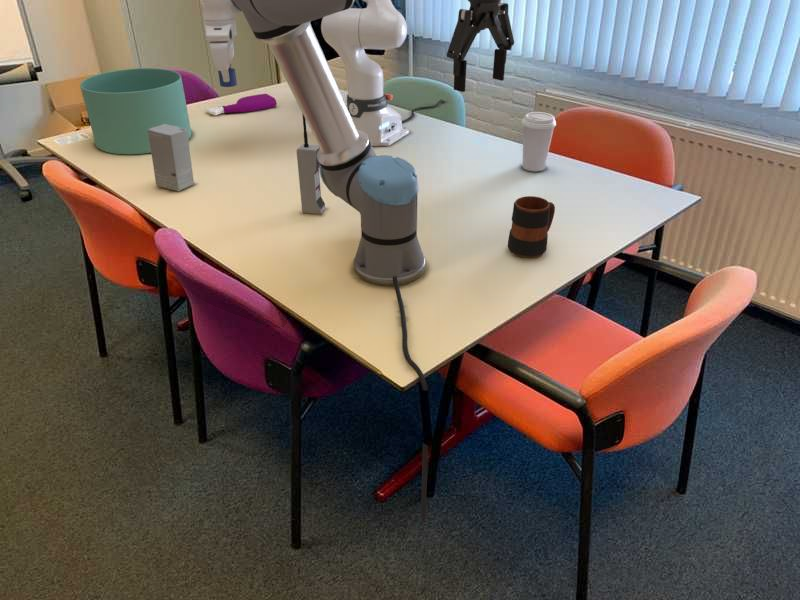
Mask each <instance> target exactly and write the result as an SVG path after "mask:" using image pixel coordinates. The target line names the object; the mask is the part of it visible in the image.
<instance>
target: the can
mask: <svg viewBox="0 0 800 600" xmlns="http://www.w3.org/2000/svg"><path fill="white" fill-rule="evenodd" d="M228 71H229V76H230V81H229V82H224V81H223V76H222V73H221V70H217V73H218V80H219V85H220V87H223V88H233V87H236V86H238V81H237V74H236V69H235V68H233V67H231V68H228Z"/></svg>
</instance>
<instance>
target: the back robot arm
mask: <svg viewBox="0 0 800 600" xmlns="http://www.w3.org/2000/svg"><path fill="white" fill-rule="evenodd" d="M199 1H200V5H201V7H202V11H203V12H202V20H203V26H204V27H203V28H204V33H205V41H206V42H208V44H209V49H210V55H211V58H212V63H213V67H214V69H215V70H216V71H218V70H221V73H222V76H223V81H224V82H229V81H230V76H229V71H228V68H232V61H233V59H234V57H235V47H234V46H235V45H234V41H235V39H234V37H236V36H238V30H237V23H236V14H237V13H241V14H243V12H242V11H240V10H238V9H237V8H236V7H235V6H234V5H233V3H232V2H231V1H230V0H199ZM362 1H363V2H364V3H366V4H367V6H366V7H365V8H357V7H356V8H354V7H351V8H349V9H347V10H343V11H340V12H337V13H334V14H331V15H328V16H325V17H322V18H321V24H320V30H321V31H320V32H321V35H322V37H323V39H324V41H325V43H327V44H328V45H329V46H330V47H331V48H332V49H334V51H335V52H336V53H337V54H338V56H339V58H340V59H341V61H342V64H343V67H344V70H345V73H346V75H345V76H346V83H347V95H346V106H347V108H348V111H349V113H350V115H351V118H352V120H353V122H354V124H355V127H356V129H357V130H358V131H362V132H364V133H366V134H367V136H368V138H369V141H370V143H371V145H372V147H377V146H379V147H380V146H381V147H382V146H383V147H388V146H391V145H392V144H394V143H396V142H398V141H400V139H403V138H404V137H405V136H407V135H408V134H410V129H409V128H407V127H405V126H404V125H403V123H406V122H409V121H410V120H411V119H412V118H414V116H415V113H414V112H415V111H418V110H425V109H432V108H433V109H434V108H436V107H438V105H440V104H441V103H443V104H445V103H446V102H445V100H444V99H440V100H438V101H437V103H435V104H433V105H429V106H428V105H427V106H419V107H415V108H413V109H411V115H410V116H409V117H408V118H405V119H404V120H403V119H402V116H401V114H400V113H399V112H398V111H396V110H395V109H393V108H392V107H391V106H390V105H388V101H392V100H393V97H394V95H393V94H391V93H384V72H383V71H384V70H383V68H382V67H381V65H380V64H379V63H378V62H376V61H374V60H373V59H372V58H370V57H369V56H368V55H367V53H366V51H365V50H379V51H380V50H382V51H385V50H386V51H387V50H391V49H397V48H400V47H402V45H403V44H404V42H405V41H406V38H407V35H408V24H407V22H406V19H405V16H403V14H402V13H401V12H400V11H398V9H397V8H396V7H395V6H394V4H393V2H392V0H362Z"/></svg>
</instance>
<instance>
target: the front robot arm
mask: <svg viewBox="0 0 800 600" xmlns="http://www.w3.org/2000/svg"><path fill="white" fill-rule="evenodd" d="M230 1H231V2H232V3H233V5H234V6H235V7H236V8H237V9H238V10H240V11H242V12H243V13H242V14H243V15H244V18H245V20H246V22H247V23H248V25H249V28H250V30H251V31H252V33H253V35H254V37H255V39H256V40H257V41H260V42H263V43H266V44H268V47H269V49H270V51H271V52H272V55H273V57H274V59H275V61H276V63H277V64H278V67H279V68H280V71H281V73H282V75H283V77H284V78H285V81H286V84H287V85H288V87H289V89H290V91H291V93H292V95H293V97H294V99H295V101H296V103H297V105H298V107H299V109H300V111H301V114H302V113H303V115H304V117H305V120H306V124H307V126H308V127H309V129H310V131H311V133H312V135H313V137H314V140H315V142H316V143H317V145H319V147H320V148H319V151H318V153H317V159H318V161H319V163H320V165H319V177H320V179H321V181H322V182H323V184H324V185H325V187H326V188H327V189H328V191H329V192H330V193H331V194H333V195H334V196H335V197H338V198H339V199H340V200H342V201H344V202H345V203H346V204H347V205H349V206H350V207H352V208H353V209H354V210H355V211H357V212H358V213H359V214H360V239H359V242H358V247H357V249H356V252H355V256H354V259H353V270H354V273H355V275H356V276H357V277H358V278H359V279H360V280H362V281H364V282H366V283H369V284H370V285H371V284H372V285H376V286H382V287H394V291H395V295H396V299H397V303H398V304H397V305H398V308H399V315H400V322H401V335H402V336H401V337H402V339H401V344H402V345H401V346H402V352H403V353H402V354H403V356H404V359H405V361H406V362H407V364H408V365H409V367H411V368H412V369H413V371H414V372H415V373H416V375H417V377H418V379H419V382H420V385H421V390H422V391H424V392H425V391H426V392H427V390H428V384H427V380H426V378H425V375H424V373H423V371H422V369H421V368H420V367H419V366H418V364H416V363H415V362H414V360H413V359H412V357H411V356H410V353H409V348H408V328H407V327H408V326H407V318H406V312H405V311H406V310H405V306H404V301H403V297H402V293H401V290H400V289H401V288H400V286H402V285H406V284H410V283H413V282H415V281H417V280H418V279H420V278H421V276H423V274H424V273H425V270H426V258H425V255H424V252H423V250H422V247H421V244H420V241H419V238H418V195H419V194H418V193H419V189H420V188H419V187H420V186H419V181H418V173H417V170H416V168H415V167H414V166H413V164H412V163H410V162H409V161H407V160H406V159H404V158H401V157H398V156H396V157H393V155H385V154H384V155H383V154H382V155H381V154H380V155H377V154H376V152H375V150H374V146H372V145H371V143H370V141H369V138H368V136H367V134H366V133H364V132H362V131H358V130H357V129H356V127H355V124H354V122H353V120H352V118H351V115H350V113H349V111H348V107H347V103H346V101H345V99H344V97H343V95H342V92H341V90H340V88H339V86H338V83H337V81H336V79H335V77H334V74H333V72H332V70H331V67H330V65H329V63H328V60H327V59H326V57H325V54H324V51H323V49H322V47H321V45H320V43H319V40H318V38H317V36H316V33H315V31H314V29H313V27H312V24H311V22H313V21H316V20H319V19H323V17H325V16H328V15H331V14H334V13H337V12H340V11H343V10H347V9H349V8H353V6H354V4H355V0H230ZM467 1H468V3H469V9H464V8H459V10H458V16H457V22H456V25H455V28H454V31H453V33H452V37H451V40H450V42H449V47H448V49H447V52H446V58H449V59H450V60H452V61H453V64H452V65H453V67H452V68H453V69H452V75H453V76H454V77H453V90H454V91H456V92H461V93H465V92H466V83H467V82H466V81H467V65H468V64H467V63H468V62H467V61H468V60H466V59H465V58H466V56H467V54H468V53H469V51H470V48H471V46H472V45H473V43H474V42H475V39H476V37H477V35H478V34H480V33H481V31H485V30H486V29H488V31H489V33H490V35H491V38H492V39H493V41H494V43H495V45H496V47H497V48H495V49H494V53H493V54H494V55H493V57H494V58H493V68H492V79H493V80H496V81H504V80H505V68H506V63H507V56H508V55H507V53H508V51H512V47H513V46H514V44H515V40H514V35H513V30H512V24H511V20H510V15H509V3H507V2H503V0H467ZM303 115H302V116H303ZM428 456H429V446H428V445H427V444H425V443H424V442H422V459H421V460H422V463H421V464H422V465H421V466H422V467H421V499H420V520H421V521H425V520H426V519H427V492H428V491H427V490H428V489H427V488H428V487H427V485H428V465H429V464H428V463H429V457H428Z"/></svg>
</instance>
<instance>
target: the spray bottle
mask: <svg viewBox="0 0 800 600" xmlns="http://www.w3.org/2000/svg"><path fill="white" fill-rule="evenodd" d="M276 106H277V99H276V98H275V97H274V96H271V95H270V94H268V93H260V94H255V95H248V96H243V97H241V98H239V99H237V101H236V103H232V104H228V105H222V106H216V107H205V108H204V110H205V112H206V113H209V114H210V115H213V116H217V115H220V114H227V113H228V114H229V113H250V112H251V113H252V112H256V111H262V110H266V109H271V108H275V107H276Z"/></svg>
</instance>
